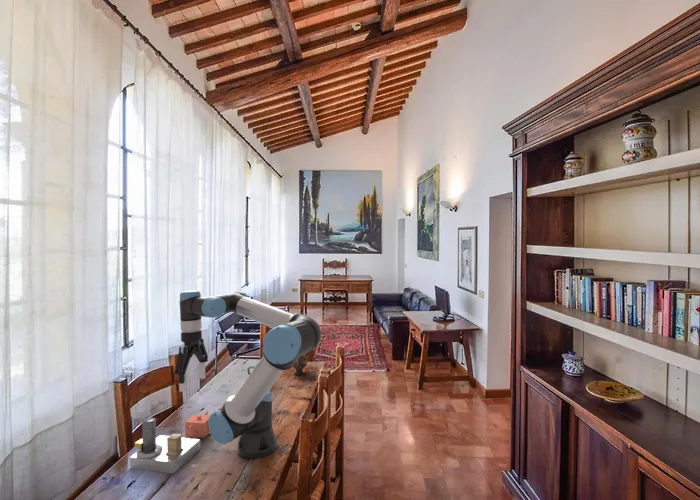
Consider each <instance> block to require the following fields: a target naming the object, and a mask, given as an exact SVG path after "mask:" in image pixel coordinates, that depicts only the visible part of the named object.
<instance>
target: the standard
mask: <svg viewBox="0 0 700 500" xmlns="http://www.w3.org/2000/svg"><path fill="white" fill-rule="evenodd" d="M141 425H142V438H140V439H138V440H137V441H135V443H134V448H135V449H137V450H138V451H136V452H137V458H139V459H149V458H153V457H155V456H157V455H159V454H160V453H161V452H162V446H161V445H157V444H156V438H157V418H155V417H149V418H145V419H144V420H142V424H141Z"/></svg>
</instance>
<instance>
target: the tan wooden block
mask: <svg viewBox="0 0 700 500" xmlns="http://www.w3.org/2000/svg"><path fill="white" fill-rule="evenodd" d="M168 436H169V437H168V438H167V456H175V457H176V456H178V455H179V454H180V453H181V452H182V434H181V433H172V434H170V435H168Z"/></svg>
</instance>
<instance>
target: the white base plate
mask: <svg viewBox="0 0 700 500" xmlns="http://www.w3.org/2000/svg"><path fill="white" fill-rule="evenodd" d="M169 436H170V435H161V434H160V435H158V436H156V444H157V445H161V446H162V452H161V453H160V454H159V455H157V456H155V457H153V458H149V459H139V458H137V452H138V451H136V452H135V453H134V454H132V455H131V456H130V457H129V468H130V467H132V468H137V469H136V470H140V469H145V470H144V471H148V470H153V471H152V472H156V471H159V472H158V473H164V472H166V473H165V474H172V473H174V474H175V473H176V472H177V471H179V470H180V469H181V468H182V467H183V466H184V465H185V464H186V463H187V462H188V461H190V459H192V458H193V457H194V456H195V455H196V454H197V453H198V452H199V451H200V450H201V439H199V438H187V437H182V452H181V453H180V454H179V455H178V456H176V457H175V456H167V438H168V437H169ZM195 453H196V454H195ZM194 454H195V455H194ZM193 455H194V456H193ZM192 456H193V457H192ZM187 460H188V461H187ZM186 461H187V462H186ZM185 462H186V463H185ZM184 463H185V464H184ZM183 464H184V465H183ZM182 465H183V466H182ZM181 466H182V467H181ZM180 467H181V468H180ZM132 468H131V469H132ZM179 468H180V469H179Z"/></svg>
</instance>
